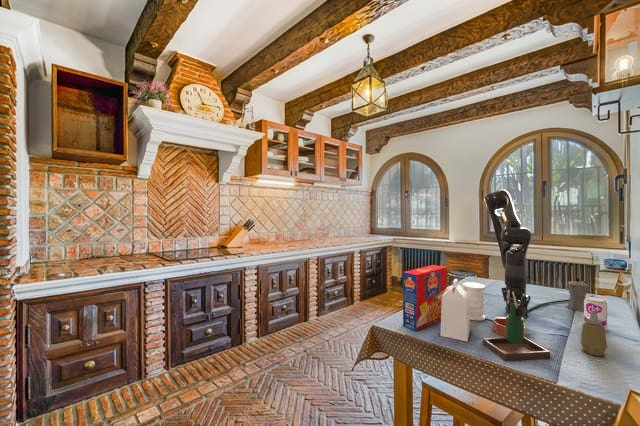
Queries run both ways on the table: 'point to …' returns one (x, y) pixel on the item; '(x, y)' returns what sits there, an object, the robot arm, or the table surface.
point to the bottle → (514, 326)
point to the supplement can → (597, 305)
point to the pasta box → (423, 296)
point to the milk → (455, 313)
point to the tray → (516, 349)
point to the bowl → (503, 326)
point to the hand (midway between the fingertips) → (514, 314)
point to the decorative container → (475, 300)
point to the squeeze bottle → (593, 335)
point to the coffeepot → (577, 294)
